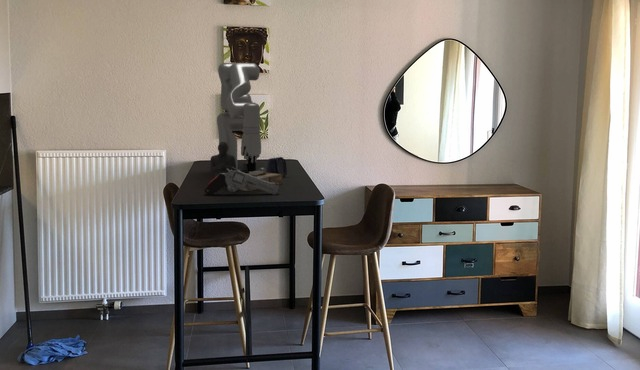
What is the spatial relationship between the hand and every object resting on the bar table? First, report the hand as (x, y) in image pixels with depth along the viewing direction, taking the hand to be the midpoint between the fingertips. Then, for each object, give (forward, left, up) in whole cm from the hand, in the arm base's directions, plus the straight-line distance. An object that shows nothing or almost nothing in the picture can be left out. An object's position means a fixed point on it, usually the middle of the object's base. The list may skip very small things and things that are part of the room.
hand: (251, 170), depth 313 cm
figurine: (-16, -1, -8) cm, 18 cm away
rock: (-8, +32, -8) cm, 34 cm away
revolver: (+8, -18, -8) cm, 21 cm away
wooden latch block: (-1, +3, -8) cm, 8 cm away
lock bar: (-3, +6, -3) cm, 7 cm away
